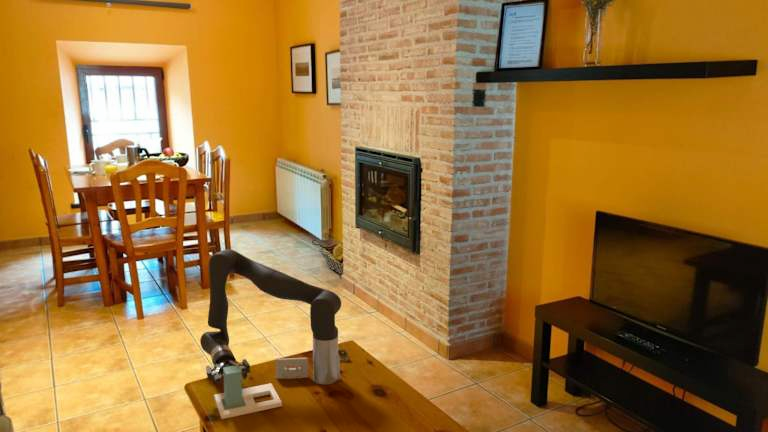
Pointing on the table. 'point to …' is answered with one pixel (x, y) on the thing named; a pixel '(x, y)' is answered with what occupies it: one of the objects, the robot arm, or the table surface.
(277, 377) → the cassette
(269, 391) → the puzzle board
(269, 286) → the robot arm
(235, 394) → the teal block
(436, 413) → the table surface
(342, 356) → the seal
